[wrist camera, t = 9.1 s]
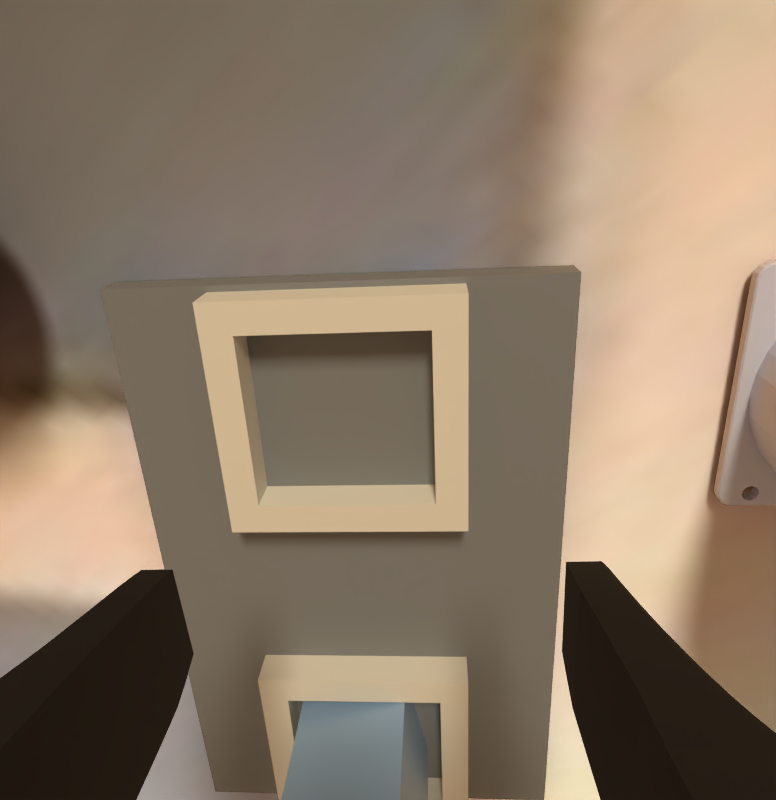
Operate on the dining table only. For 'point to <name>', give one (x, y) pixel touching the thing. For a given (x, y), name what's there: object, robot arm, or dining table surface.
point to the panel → (361, 503)
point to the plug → (358, 753)
